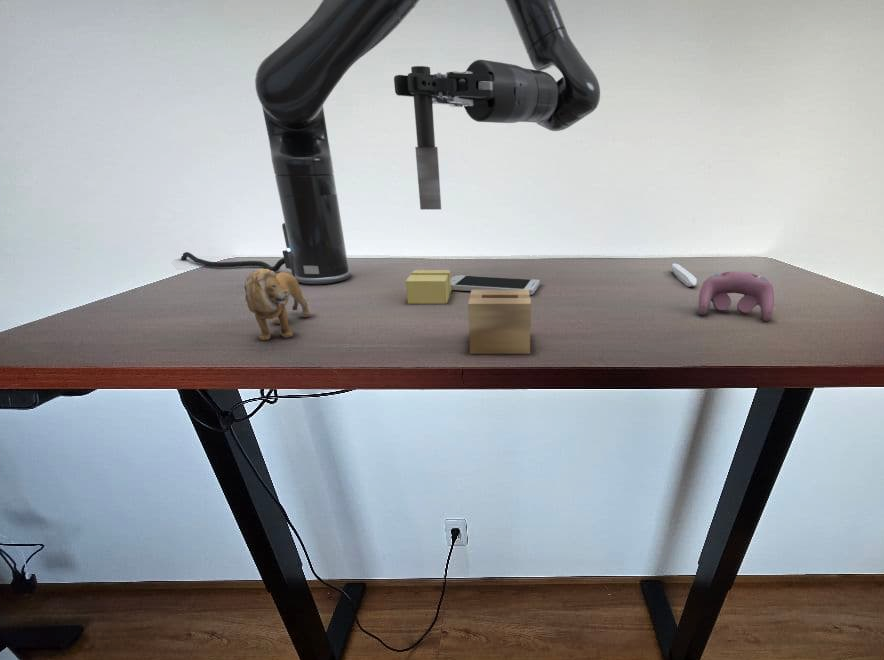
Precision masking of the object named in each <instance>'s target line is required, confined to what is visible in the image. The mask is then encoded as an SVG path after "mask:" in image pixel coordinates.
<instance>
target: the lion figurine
mask: <svg viewBox="0 0 884 660" xmlns="http://www.w3.org/2000/svg"><path fill="white" fill-rule="evenodd" d="M243 288H244V291H245V302H246V305H247V308H248V310H249V311H250V312H251V313H253V314H254V316H255V320H256V322H257V324H258V326H259V327H258V328H259V329H260V331H261V334H260V335H259V336H258V337H259V339H260V340H261V341H267V340H270V338H271V332H270V329H269V327H268V324H267V320H272V319H274V320H273V323H274V324H276V325H279V329H280V333H281V336H282V337H283V338H284V339H287V338H292V337H293V336H294V334H293V332H292V331H291V328H290V326H289V315H288V311H287V308H286V306H287V305H288V302H289V298H290V296H291V297H292V298H293V301H294V302H293V305H292V306H291V307H292V311H298V306H299V305H300V306H301V309H302V312H301V313H300V314H301V315H300V316H301V317H302V318H310V316H311V313H310V310H309V308H308V302H307V301H306V299H305V298H304V296H303V293H302V289H301V285H300V284H299V282H298V281H297V279H296V278H295V277H294V276H293V275H292V273H288V272H284V271H281V272H278V273H277V272H276V271H275V272H274V271H270V270H269V269H266V268H264V267H263V268H258V269H256V270H253V271H252V272H250V273H249V274H248V275H247V277H246V281H245V283H244V286H243Z"/></svg>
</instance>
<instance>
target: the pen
mask: <svg viewBox="0 0 884 660" xmlns="http://www.w3.org/2000/svg"><path fill="white" fill-rule="evenodd" d="M671 271H672V273H673V275H674V276H675V277H676V278H677V279H678V280H679V281H680V282H682V283H683V284H684V285H685V286H686V287H691V288H692V287H696V286H697V284H698V279H697V277H696V276H695V275H693V274H692V273H691V272H690V271H688V270H687V269H685V268H684V267H683V266H682V265H680V264H678V263H672V264H671Z"/></svg>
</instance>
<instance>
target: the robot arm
mask: <svg viewBox="0 0 884 660" xmlns="http://www.w3.org/2000/svg"><path fill="white" fill-rule="evenodd" d="M419 2H421V0H322V1H321V3H320V4H319V5H318V7H317V8H316V10H314V13H313V14H312V15H311V16H310V17H309V18H308V20H307V21H306V22H305V23H304V24H303V25H301V27H300V28H298V29H297V31H295V32H294V33H293V34H292V35H291V36H289V38H288V39H287V40H285V41H284V42H283V43H282V44H281V45H280V46H278V47H277V48H276V49H275V50H274V51H272V52H271V53H270V54H269V55H268V56H266V57H265V58H264V59H263V60H262V61H261V63H260V64H259V66H258V68H257V70H256V73H255V79H254V85H255V86H254V87H255V93H256V96H257V98H258V101H259V104H260V105H261V107H262V108H261V109H262V113H263V117H264V122H265V127H266V132H267V133H266V134H267V136H268V142H269V150H270V158H271V164H272V168H273V174H274V178H275V183H276V188H277V193H278V196H279V203H280V206H281V211H282V217H283V221H284V222H283V223H282V224H281V228H282V232H283V238H284V242H285V246H286V247H285V248H286V249H285V250H282V258H280V259H279V260H277V262H276V263H275V264H274V265H273V266H272V265H270V264H269V263H268V262H265V261H262V260H261V261H259V260H242V261H241V260H240V261H211V260H210V261H209V260H205V259H203V258H198V257H196V256H195V255H194V254H192V253H191V252H188V251H186V252H183V253H182V255H183V256H182V255H181V257H180V261H187V258H188V259H190V260H191V261H192V262H194V263H197V264H200V265H203V266H206V267H212V268H238V267H239V268H240V267H263V269H269V270H270V271H274V272H275V273H276V272H278V271H279V270H280V268H281V267H282V266H283V265H284V266H285V269H289V270H291V275H293V276H294V277H295V278H296V279H297V281H298V284H299V283H300V284H305V285H324V284H325V285H327V284H333V283H334V284H335V283H338V282H339V283H340V282H343V281H346V280H348V279H349V278H350V277H351V273H350V269H349V265H348V264H349V263H348V257H347V249H346V245H345V244H346V243H345V238H344V237H345V236H344V230H343V225H342V219H341V218H342V217H341V211H340V205H339V199H338V192H337V187H336V180H335V179H336V178H335V172H334V165H333V160H332V159H333V157H332V154H331V153H332V152H331V146H330V143H329V136H328V130H327V124H326V123H327V122H326V117H325V110H324V104H325V102H326V101H327V100H328V98H329V96H330V95H331V93H332V92H333V90H335V88H336V86H337V85H338V84H339V83H340V81H341V79H342V78H343V77H344V75H345V74H346V73H347V72H348V70H349V69H350V68H351V67H352V66H353V65H354V64H355V63H356V62H358V61H359V60H360V59H361V58H363V57H364V56H365V55H367V54H368V53H369V52H371V51H373V49H374V48H376V47H377V46H378V45H379V44H380V43H382V42H383V41H384V40H385V39H386V38H388V36H390V35H391V34H392V33H393V32H394V31H395V30H396V29H397V28H398V27H399V26H400V25H401V23H403V22H404V21H405V19H406V18H407V17H408V15H410V13H411V12H413V10H414V9H415V8H416V7H417V6H418V4H419ZM504 2H505V4H506V6H507V8H508V11H509V13H510V16H511V18H512V21H513V22H514V23H513V24H514V25H515V27H516V30H517V33H518V35H519V37H520V40H521V42H522V45H523V47H524V50H525V53H526V55H527V57H528V59H529V62H530V64H531V65H532V67H533V69H532V68H525V67H522V66H520V65H516V64H512V63H507V62H500V61H493V60H487V59H476V60H474V61H473V62H472V63H470V64H469V66H468V67H467V69H465V71H455V70H452V71H446V72H445V73H441V72H437V73H433V74H431V73H430V74H421V73H412V72H408V74H407V75H406V74H405V75H403V74H396V75H395V76H394V77H393V83H394V85H393V86H394V92H395V93H394V94H396V95H397V96H398V97H410V98H414V96H413V94H417V95H429V96H432V105H433V104H434V105H448V106H449V107H451V108H463V107H464V110H465V112H466V114H467V116H469V117H470V119H472V120H473V121H475V122H479V123H496V124H497V123H499V124H516V123H535V124H536V125H538V126H540V127H542V128H544V129H546V130H548V131H551V132H559V131H564V130H566V129H568V128H570V127H572V126H573V125H575V124H576V123H577V122H580V121H581V120H582V119H584V118H586V117H587V116H588V115H591V114H592V113H593V112H594V111H595V110H596V109H597V108H598V106H599V104H600V101H601V86H600V82H599V79H598V78H597V76H596V74H595V72H594V71H593V69H592V68H591V67H590V65H589V64H588V63H587V61H586V59H584V56H582V54H581V52H580V51H579V50H578V48H577V47H576V45H575V44H574V42H573V41H572V39H571V38H570V35H569V34H568V30H567V27H566V26H565V23H564V20H563V17H562V15H561V11H560V10H559V7H558V4H557V1H556V0H504ZM553 67H555V68H556V69H557V70H558V71H559V72H560V73H561V75H562V77H560V78H559V79H558V80H556V79H555V78H554V77H553V75H552V74H550V73H548V72H547V71H546V70H548V69H551V68H553Z"/></svg>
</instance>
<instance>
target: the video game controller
mask: <svg viewBox="0 0 884 660" xmlns="http://www.w3.org/2000/svg"><path fill="white" fill-rule="evenodd" d="M729 294H739V295H743V296H742V297H741V298H739V300H738V302H737V305H736V309H737V311H738V313H740V314H742V315H747V314H748V315H749V314H750V313H751V312H752V311H753V310H754V309H755V308H756V306H759V308H760V314H761V318H762V320H763V321H764V322H768V321H770V320H771V318H772V316H773V313H774V306H775V291H774V286H773V284H772V283H771V282H770V281H769V279H768V278H767V277H766V276H763V275H757V274H754V273H751V272H747V271H735V270H734V271H733V270H730V271H725V272H716V273H714V274H713V275H710V276H709V277H707V278H706V279H705V280H704V281H703V283H702V284H701V287H700V290H699V295H698V313H699V315H700V316H705V315H706V314H707V313H708V310H709V307H710V305H711V302H712V305H713V308H714V309H715V311H717V312H721V313H722V312H726V311H727V310H729V308H730V307H731V305H732V299H731V297H730V295H729Z"/></svg>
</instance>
